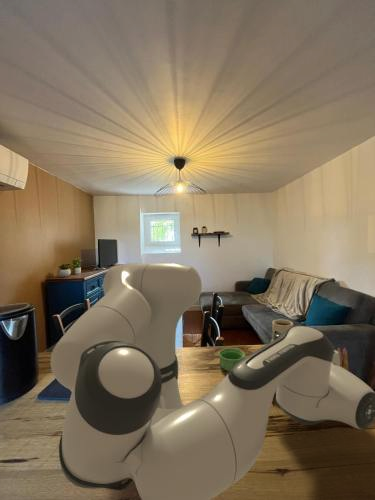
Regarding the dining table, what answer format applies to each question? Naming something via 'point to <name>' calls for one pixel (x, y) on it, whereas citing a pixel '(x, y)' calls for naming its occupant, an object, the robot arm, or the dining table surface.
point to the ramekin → (230, 357)
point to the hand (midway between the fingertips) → (278, 345)
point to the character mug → (281, 326)
